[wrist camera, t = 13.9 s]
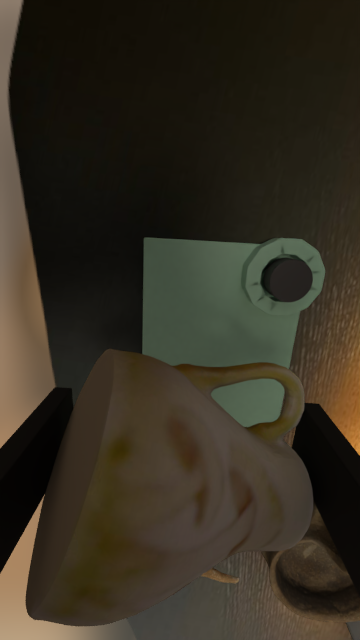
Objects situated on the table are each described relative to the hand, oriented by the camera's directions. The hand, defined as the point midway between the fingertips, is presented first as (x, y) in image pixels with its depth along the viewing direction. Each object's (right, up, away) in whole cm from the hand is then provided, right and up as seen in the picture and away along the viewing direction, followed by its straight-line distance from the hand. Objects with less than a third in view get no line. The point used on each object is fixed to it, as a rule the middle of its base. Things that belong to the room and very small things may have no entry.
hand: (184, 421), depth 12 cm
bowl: (+16, -19, +21) cm, 32 cm away
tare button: (+8, +8, +9) cm, 15 cm away
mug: (0, 0, 0) cm, 1 cm away
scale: (+3, +3, +14) cm, 15 cm away
